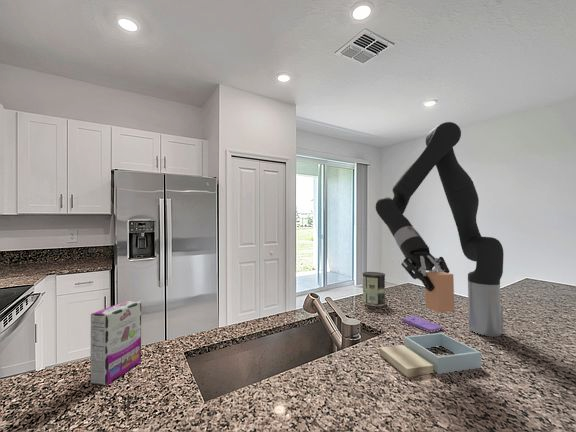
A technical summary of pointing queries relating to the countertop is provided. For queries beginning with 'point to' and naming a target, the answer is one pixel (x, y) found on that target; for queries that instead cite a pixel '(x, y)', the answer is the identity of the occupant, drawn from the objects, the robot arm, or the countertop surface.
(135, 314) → the candy bar box
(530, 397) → the countertop surface
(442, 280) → the terracotta box
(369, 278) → the coffee can
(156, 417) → the countertop surface
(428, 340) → the square frame
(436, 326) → the sponges
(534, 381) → the countertop surface
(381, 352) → the block
